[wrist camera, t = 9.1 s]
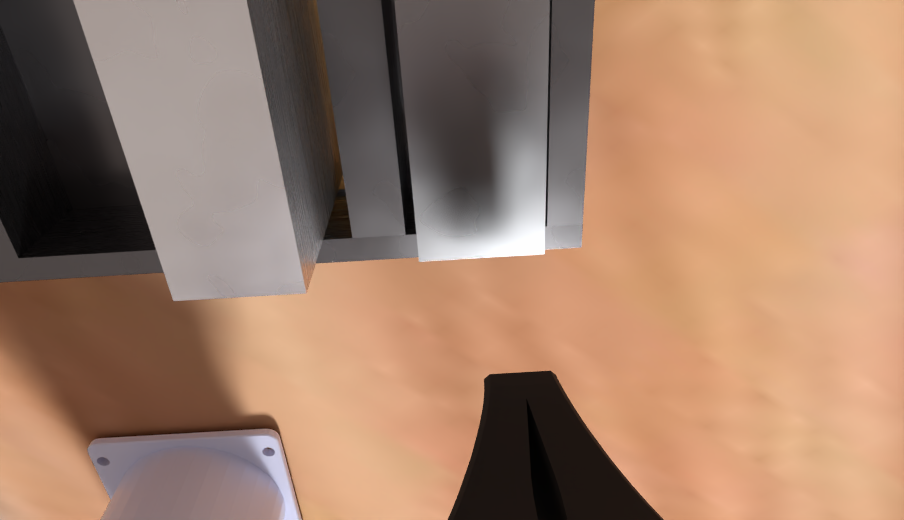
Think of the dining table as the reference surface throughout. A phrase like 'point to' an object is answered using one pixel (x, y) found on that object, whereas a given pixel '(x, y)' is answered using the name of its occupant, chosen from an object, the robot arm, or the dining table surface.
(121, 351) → the dining table surface
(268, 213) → the block
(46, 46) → the rack
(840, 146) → the dining table surface
